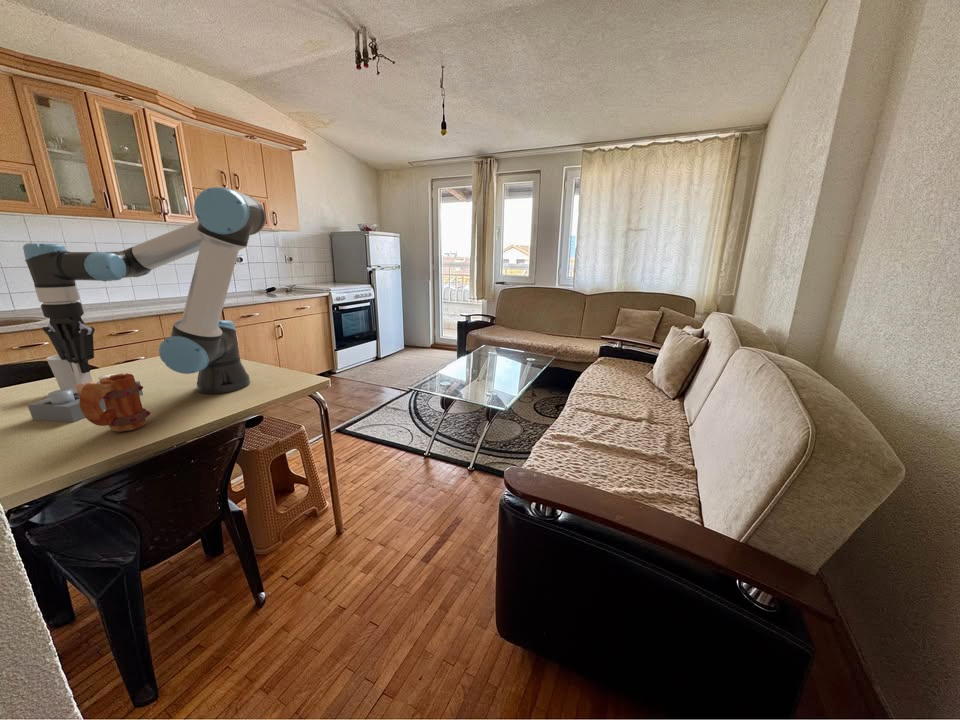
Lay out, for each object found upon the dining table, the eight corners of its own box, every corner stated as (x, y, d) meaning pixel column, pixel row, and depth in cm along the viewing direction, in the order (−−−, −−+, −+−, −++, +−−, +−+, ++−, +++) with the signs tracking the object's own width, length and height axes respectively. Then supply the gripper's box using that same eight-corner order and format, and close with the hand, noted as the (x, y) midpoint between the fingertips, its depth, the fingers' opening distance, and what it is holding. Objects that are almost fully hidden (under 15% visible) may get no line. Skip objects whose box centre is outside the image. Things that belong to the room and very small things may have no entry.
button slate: (81, 405, 105) (76, 389, 104) (64, 412, 101) (58, 395, 99) (67, 405, 105) (61, 388, 104) (49, 411, 101) (43, 394, 100)
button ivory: (126, 389, 117) (122, 374, 116) (112, 394, 113) (107, 379, 112) (113, 388, 118) (109, 373, 116) (98, 393, 113) (94, 378, 112)
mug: (128, 420, 102) (114, 368, 97) (160, 419, 103) (147, 368, 98) (77, 447, 88) (58, 388, 84) (114, 446, 89) (97, 388, 84)
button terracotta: (105, 396, 111) (100, 381, 110) (89, 402, 107) (84, 386, 106) (91, 396, 111) (86, 380, 110) (75, 402, 107) (70, 385, 106)
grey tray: (143, 394, 119) (139, 381, 118) (74, 422, 100) (69, 406, 99) (108, 392, 120) (104, 379, 118) (32, 419, 101) (27, 404, 99)
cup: (70, 397, 116) (58, 360, 112) (51, 394, 117) (39, 358, 114) (100, 388, 123) (90, 353, 120) (81, 386, 125) (71, 351, 121)
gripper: (97, 301, 104) (119, 379, 111) (54, 299, 105) (78, 377, 112) (67, 305, 97) (92, 388, 104) (21, 303, 98) (49, 386, 104)
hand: (85, 382), depth 108 cm, fingers closed
